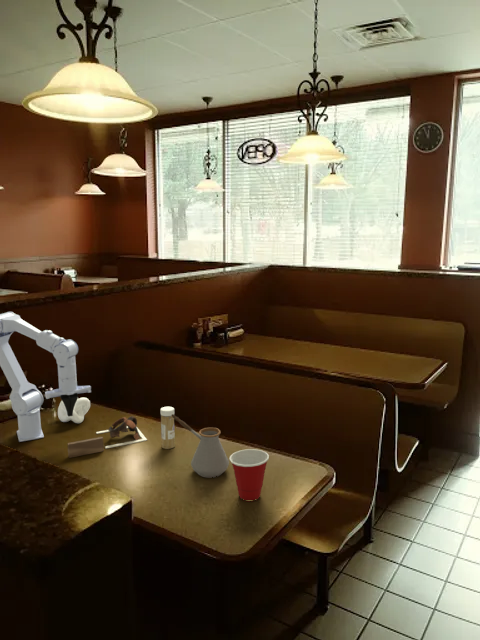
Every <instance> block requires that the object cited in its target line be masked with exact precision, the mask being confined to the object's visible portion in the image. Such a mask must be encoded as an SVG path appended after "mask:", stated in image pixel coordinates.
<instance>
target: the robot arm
mask: <svg viewBox="0 0 480 640" xmlns="http://www.w3.org/2000/svg"><path fill="white" fill-rule="evenodd" d="M14 332H17V333H19V334H21V335H24V336H26V337H28V338H30V339H32V340H34V341H35V342H36V345H37V346H38V347H40V348H42V349H44V350H46V351H48V352H49V353H51V354H52V355H53V357H54V359H55V360H56V364H57V376H58V388H56V389H52V390H47V391H45V392H44V395H45V399H46V400H48V399H50V398H51V399H52V398H57V397H58V398H59V397H60V399H61V401H63V403H64V405H65V407H66V410H67V415H68V416H73V409H74V406H75V403H76V401H77V399H79V395H78V394H84V393H88V394H89V393H92V386H91V385H78V381H77V364H76V362H77V361H76V355H78V353H79V346H78V344H77V342H76V341H74V340H73V339H65V338H64V337H60V336H59V335H57V334H55V333H53V331H52V330H50V329H49V330H48V329H45V330H43V331H42V330H40V329H38V328H37V327H35V326H33V325H32V324H30V323H29V322H27V321H25V319H24V320H23V319H22V318H21V315H19V314H16V313H14V312H13V311H7V312H4V313H3V312H2V313H0V368H1V370H2V371H3V374H4V376H5V377H6V380H7V382H8V384H9V386H10V387H11V392H10V395H9V400H10V403H11V407H12V408H11V409H12V410H13V412H14V414H15V415H16V416H17V424H18V425H17V426H18V430H16V434H17V438H18V442H19V443H20V442H26V441H32V440H38V439H43V438H44V437H45V436H44V433H43V430H42V424H41V411H40V410H41V406H42V405H43V403H44V396H43V394H42V392H41V391H40V390H39V389H38V388H37V386H36V385H35V384H33V383H30V382H29V381H28V380H27V378H26V375H25V373H24V371H23V370H22V367H21V365H20V363H19V362H18V360H17V357H16V356H15V353H14V351H13V350H12V347H11V345H10V344H9V340H10V337H11V335H12V334H13V333H14Z"/></svg>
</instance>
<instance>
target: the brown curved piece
mask: <svg viewBox="0 0 480 640" xmlns="http://www.w3.org/2000/svg"><path fill="white" fill-rule="evenodd" d="M137 425H138V420H137V418H136V417H135V416H133V415H132V416H131V415H130V416H129V417H128V418H127V417H125V416H123V417H121V418H119V419H117V420H116V421H114V422H113V423H112V424H111V426H110V427H109V428H108V430H109V432H108V433H109V436H110V438H115V437H118V438H120V432H121V433H128V432H132V433H133V432H134V433H135V434H134V435H133V438H134V441H135V440H140V438H141V437H140V435H139V432H138V430H137V428H138V427H137ZM127 426H128V428H127Z"/></svg>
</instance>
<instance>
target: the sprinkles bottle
mask: <svg viewBox="0 0 480 640" xmlns="http://www.w3.org/2000/svg"><path fill="white" fill-rule="evenodd" d="M172 414H173V415H175V408H174V407H172V406H164V407H163V406H162V407H161V408H160V426H161V427H160V430H161V433H160V434H161V448H163V449H165V450H167V449H168V450H169V449H173V448H174V447H175V446H176V443H175V441H176V440H175V435H176V434H175V418H173V417H172V416H171V415H172ZM170 416H171V417H170ZM169 417H170V419H171V420H170V419H169ZM172 418H173V419H172Z"/></svg>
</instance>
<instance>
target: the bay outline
mask: <svg viewBox="0 0 480 640" xmlns="http://www.w3.org/2000/svg"><path fill="white" fill-rule="evenodd" d="M127 429H129V428H128V426H127ZM137 430H138V432H139V435H140V437H139V439H138V440H135V439H134V440H130V441H124V442H121V443H116V444H110V445H106V446H105V445H104V448H105V449H110V448H111V449H112V448H115V447H120V446H126V445H132V444H134V443H141V442H145V441H148V439H147V437H145V435H144V434H143V433H142V431H141V430H140V429H139V427H137ZM105 433H110V432H109V429H106V430H100V431H96V432H95V434H96V435H100V434H105ZM140 438H141V439H140Z"/></svg>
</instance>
